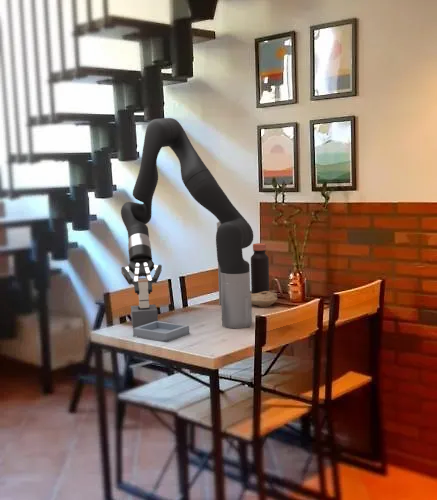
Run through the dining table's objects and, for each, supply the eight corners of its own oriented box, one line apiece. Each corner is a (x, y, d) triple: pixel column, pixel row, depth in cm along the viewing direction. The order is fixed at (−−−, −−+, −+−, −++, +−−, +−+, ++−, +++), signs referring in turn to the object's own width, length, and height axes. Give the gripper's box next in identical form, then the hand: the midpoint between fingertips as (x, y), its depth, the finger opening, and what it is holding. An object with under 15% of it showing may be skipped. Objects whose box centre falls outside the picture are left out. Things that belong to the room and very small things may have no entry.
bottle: (272, 296, 263) (271, 244, 261) (257, 298, 260) (256, 245, 257) (263, 293, 269) (262, 242, 266) (248, 295, 266) (246, 244, 263)
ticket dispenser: (155, 320, 230) (155, 304, 229) (158, 327, 221) (157, 310, 220) (131, 322, 228) (130, 305, 228) (132, 328, 220) (132, 311, 219)
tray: (189, 333, 212) (189, 325, 211) (166, 342, 203) (165, 333, 202) (156, 328, 219) (156, 320, 219) (133, 336, 210) (132, 328, 210)
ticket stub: (148, 305, 226) (147, 277, 225) (149, 307, 222) (147, 280, 221) (139, 305, 226) (137, 278, 224) (139, 308, 222) (138, 280, 220)
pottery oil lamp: (241, 302, 252) (248, 284, 253) (272, 314, 250) (279, 296, 251) (239, 299, 243) (246, 280, 244) (271, 311, 241) (278, 292, 242)
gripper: (118, 244, 227) (121, 287, 217) (161, 242, 230) (166, 284, 219) (118, 258, 233) (121, 301, 223) (160, 255, 236) (165, 298, 225)
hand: (143, 292), depth 221 cm, fingers closed on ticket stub, 3 cm apart
